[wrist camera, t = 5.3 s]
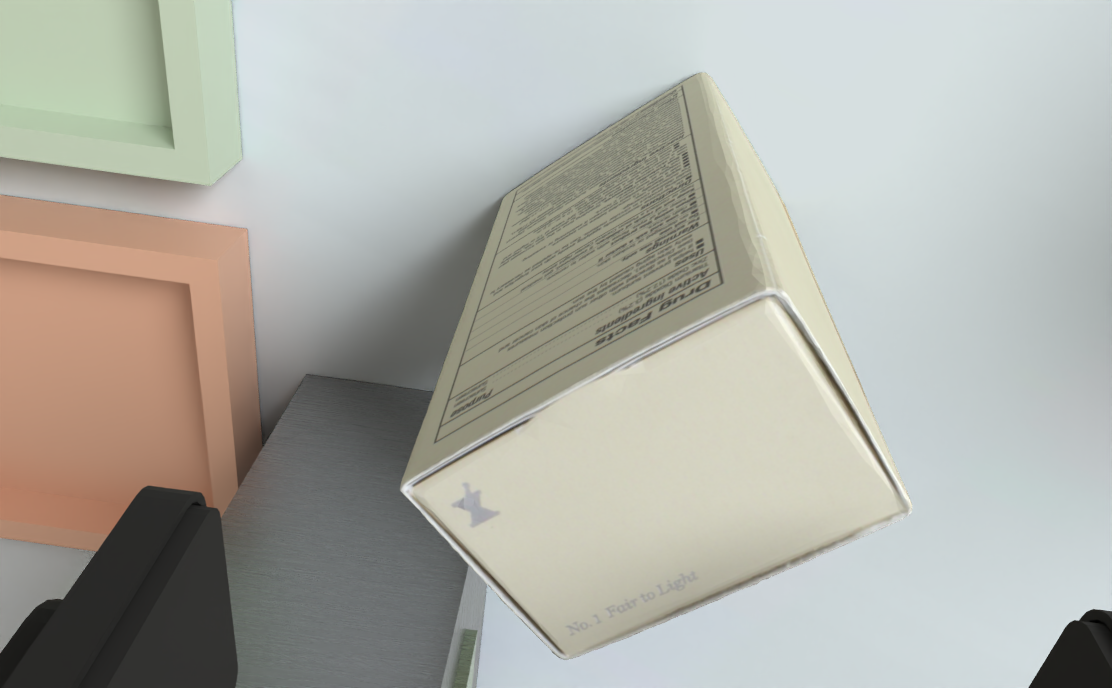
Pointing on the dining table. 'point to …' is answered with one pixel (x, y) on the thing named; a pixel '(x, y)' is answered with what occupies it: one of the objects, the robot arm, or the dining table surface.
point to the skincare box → (647, 389)
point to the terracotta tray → (119, 366)
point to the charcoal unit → (346, 553)
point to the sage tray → (121, 86)
